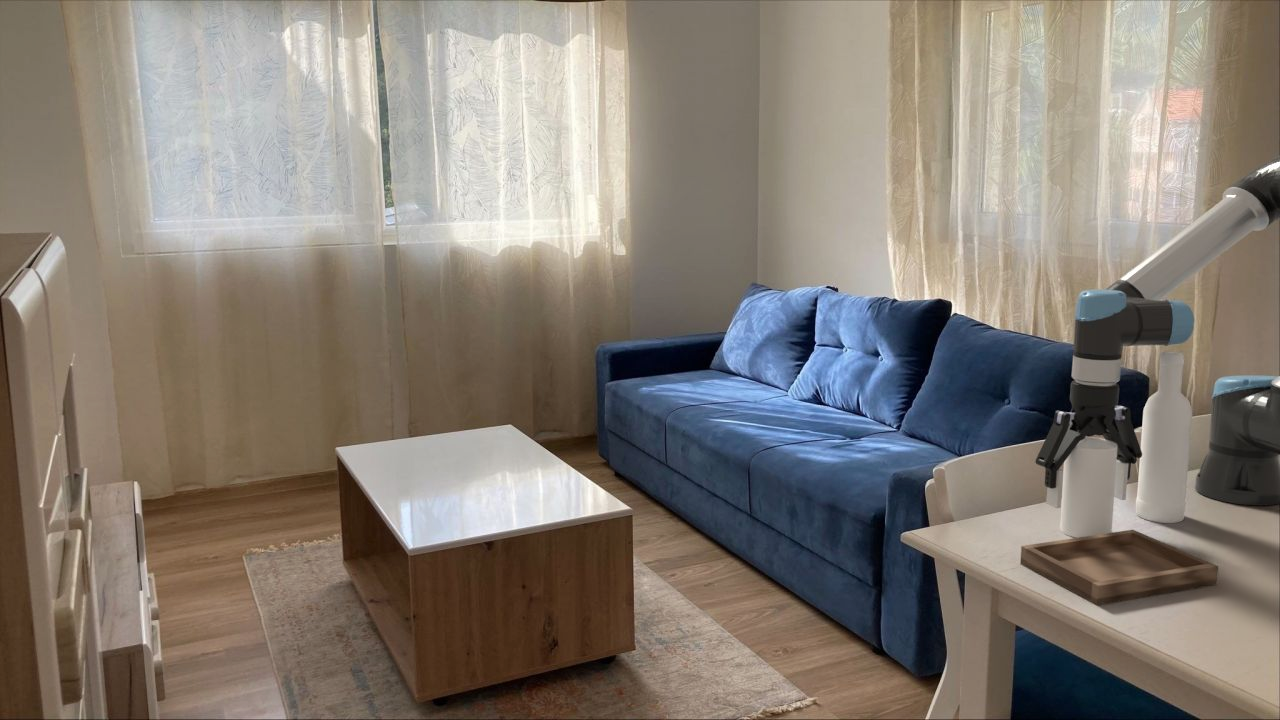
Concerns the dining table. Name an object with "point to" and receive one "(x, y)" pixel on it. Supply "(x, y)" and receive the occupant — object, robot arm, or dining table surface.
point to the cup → (1089, 488)
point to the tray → (1118, 566)
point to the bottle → (1165, 446)
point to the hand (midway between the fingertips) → (1086, 501)
